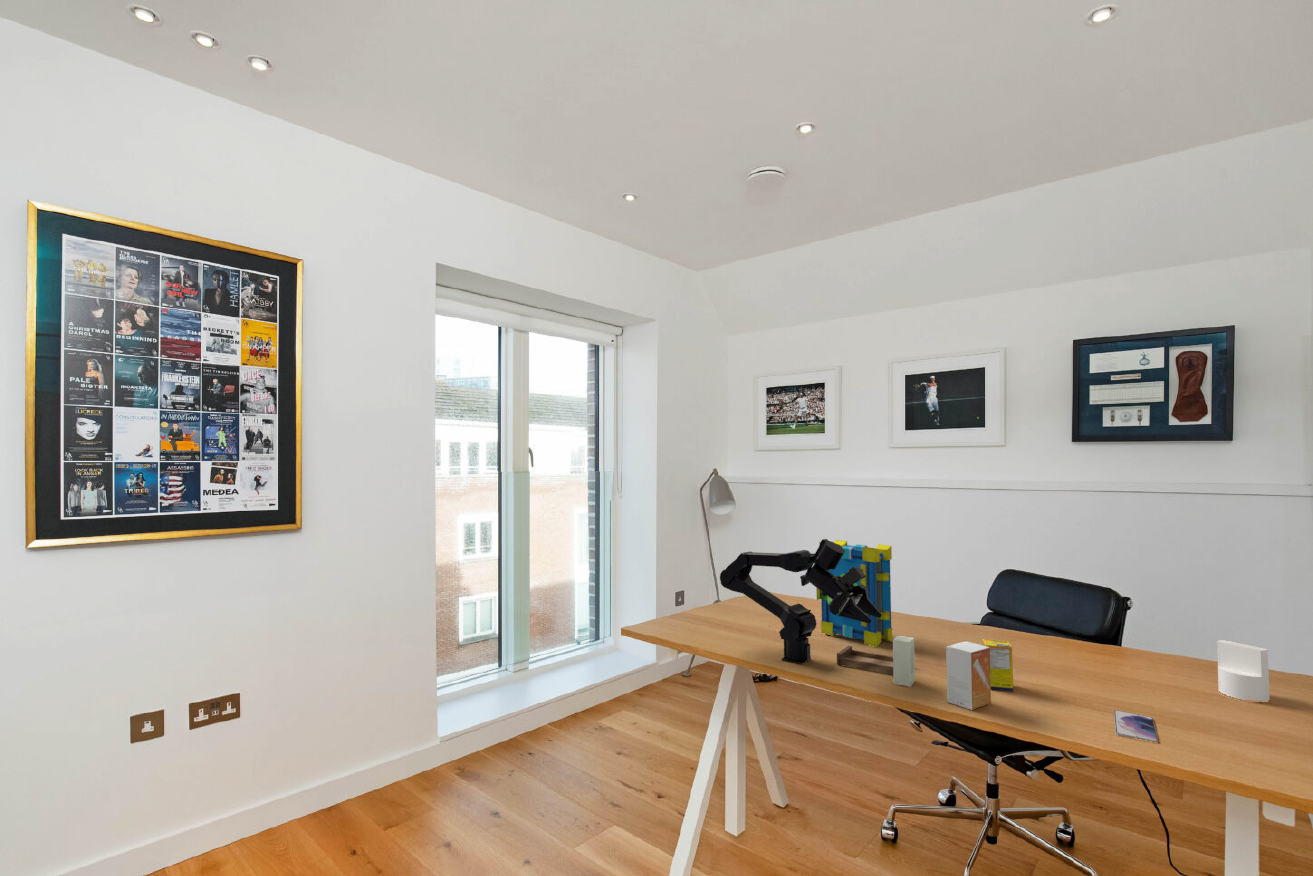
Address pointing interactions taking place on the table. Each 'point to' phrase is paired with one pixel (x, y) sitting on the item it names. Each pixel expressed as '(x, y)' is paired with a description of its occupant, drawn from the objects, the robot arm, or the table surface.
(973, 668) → the small box
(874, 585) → the blue toy crate
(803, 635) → the robot arm
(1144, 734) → the smartphone
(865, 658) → the wooden tray
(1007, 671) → the supplement box
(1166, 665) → the table surface
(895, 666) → the pale green recessed block
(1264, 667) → the base with upright slab
